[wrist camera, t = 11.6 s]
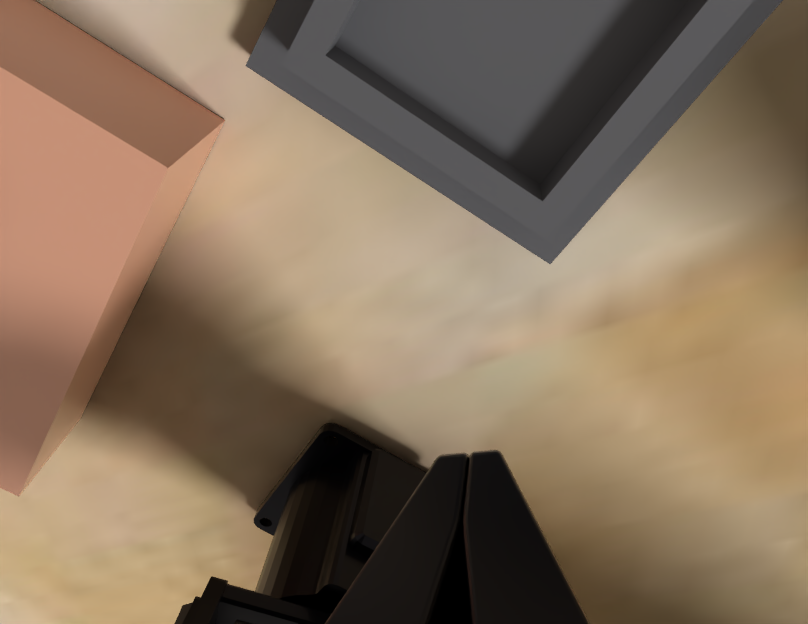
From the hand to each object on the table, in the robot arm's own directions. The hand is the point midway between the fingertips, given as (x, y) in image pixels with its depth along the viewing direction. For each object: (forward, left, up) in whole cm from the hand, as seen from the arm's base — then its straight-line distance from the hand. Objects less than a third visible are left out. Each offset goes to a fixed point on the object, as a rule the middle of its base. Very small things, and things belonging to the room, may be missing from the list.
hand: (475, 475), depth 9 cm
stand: (+4, +2, -12) cm, 13 cm away
